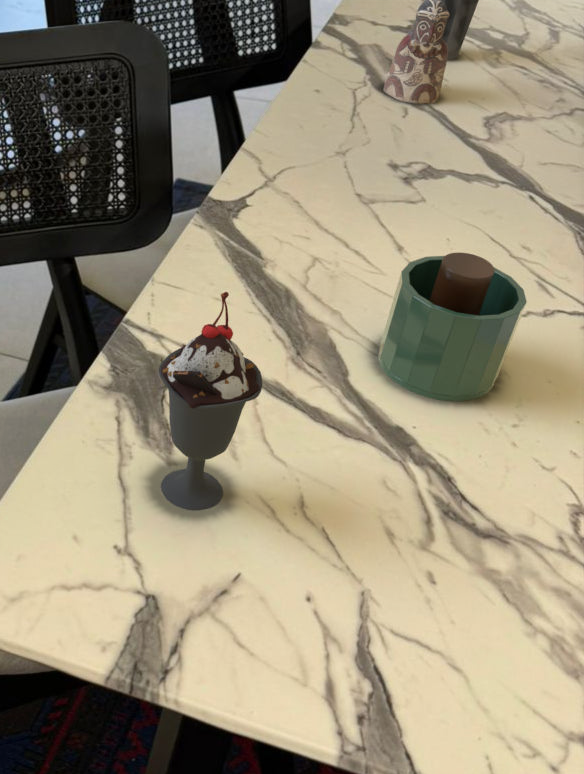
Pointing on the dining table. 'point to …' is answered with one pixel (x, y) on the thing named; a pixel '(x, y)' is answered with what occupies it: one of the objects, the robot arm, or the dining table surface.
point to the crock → (448, 336)
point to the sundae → (205, 408)
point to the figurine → (420, 57)
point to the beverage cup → (457, 24)
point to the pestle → (462, 283)
